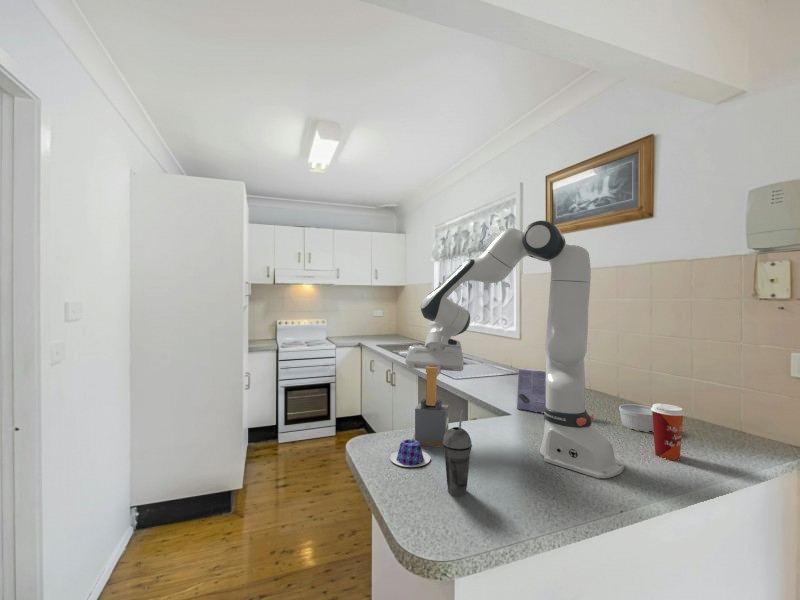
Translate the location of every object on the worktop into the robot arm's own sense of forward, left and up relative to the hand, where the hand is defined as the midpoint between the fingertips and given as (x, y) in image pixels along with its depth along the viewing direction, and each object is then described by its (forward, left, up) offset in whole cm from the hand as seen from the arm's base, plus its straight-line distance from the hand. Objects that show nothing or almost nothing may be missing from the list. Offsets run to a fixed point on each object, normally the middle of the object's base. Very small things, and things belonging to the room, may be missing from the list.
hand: (431, 378), depth 121 cm
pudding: (-8, +14, -21) cm, 27 cm away
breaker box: (-1, 0, -21) cm, 21 cm away
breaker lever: (-2, +1, -8) cm, 8 cm away
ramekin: (-34, -73, -21) cm, 83 cm away
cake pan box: (-2, -59, -21) cm, 62 cm away
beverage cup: (-29, +15, -21) cm, 39 cm away
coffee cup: (-50, -52, -21) cm, 75 cm away
